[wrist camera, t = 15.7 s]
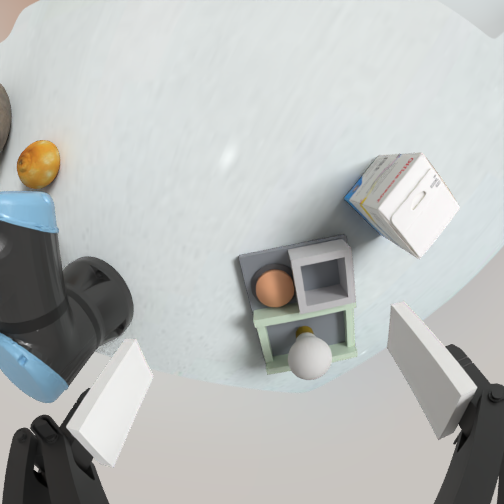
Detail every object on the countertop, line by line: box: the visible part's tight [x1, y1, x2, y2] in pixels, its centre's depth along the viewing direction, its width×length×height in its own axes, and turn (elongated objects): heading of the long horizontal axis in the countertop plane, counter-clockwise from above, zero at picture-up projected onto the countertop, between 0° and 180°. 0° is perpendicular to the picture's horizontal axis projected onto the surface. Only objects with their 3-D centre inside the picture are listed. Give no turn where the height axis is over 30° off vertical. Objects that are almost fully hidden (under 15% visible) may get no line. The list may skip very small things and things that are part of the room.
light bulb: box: [288, 326, 332, 380], centre depth 36 cm, size 6×6×10 cm
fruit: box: [17, 140, 60, 189], centre depth 32 cm, size 8×8×8 cm
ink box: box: [344, 153, 459, 259], centre depth 29 cm, size 9×8×12 cm
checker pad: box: [256, 269, 294, 307], centre depth 37 cm, size 5×5×1 cm
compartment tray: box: [239, 234, 357, 375], centre depth 38 cm, size 15×19×6 cm
